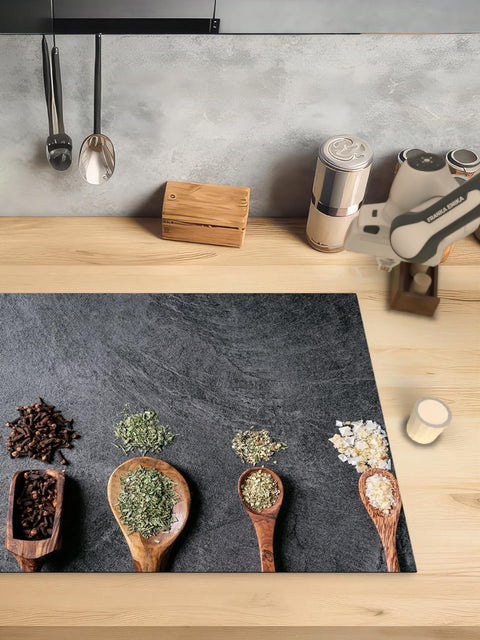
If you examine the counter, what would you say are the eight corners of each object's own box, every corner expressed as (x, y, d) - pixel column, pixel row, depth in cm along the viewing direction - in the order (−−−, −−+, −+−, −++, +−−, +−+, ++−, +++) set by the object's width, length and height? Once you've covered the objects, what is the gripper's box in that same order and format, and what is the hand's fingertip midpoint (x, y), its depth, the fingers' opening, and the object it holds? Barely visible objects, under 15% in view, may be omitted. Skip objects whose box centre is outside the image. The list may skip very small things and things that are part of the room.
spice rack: (434, 265, 168) (443, 244, 162) (431, 317, 159) (442, 297, 153) (393, 257, 169) (402, 237, 164) (389, 309, 160) (398, 288, 155)
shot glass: (442, 447, 140) (455, 428, 134) (406, 445, 140) (417, 427, 135) (435, 416, 144) (448, 397, 138) (400, 415, 144) (411, 395, 139)
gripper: (454, 220, 151) (432, 267, 162) (353, 203, 154) (339, 250, 166) (454, 241, 147) (432, 287, 158) (351, 224, 151) (336, 270, 162)
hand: (383, 268), depth 162 cm, fingers closed
